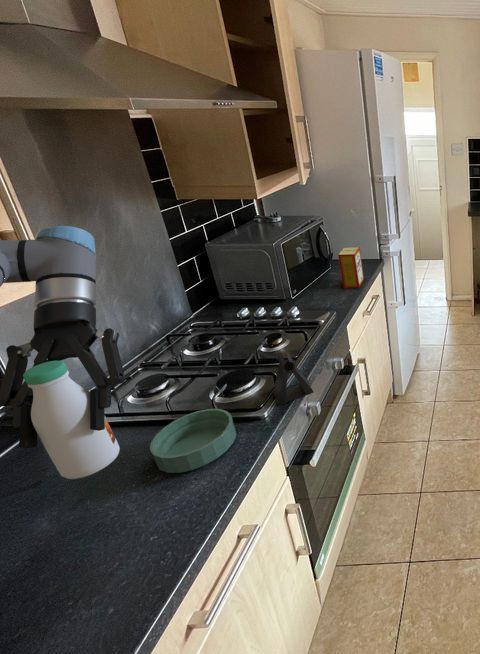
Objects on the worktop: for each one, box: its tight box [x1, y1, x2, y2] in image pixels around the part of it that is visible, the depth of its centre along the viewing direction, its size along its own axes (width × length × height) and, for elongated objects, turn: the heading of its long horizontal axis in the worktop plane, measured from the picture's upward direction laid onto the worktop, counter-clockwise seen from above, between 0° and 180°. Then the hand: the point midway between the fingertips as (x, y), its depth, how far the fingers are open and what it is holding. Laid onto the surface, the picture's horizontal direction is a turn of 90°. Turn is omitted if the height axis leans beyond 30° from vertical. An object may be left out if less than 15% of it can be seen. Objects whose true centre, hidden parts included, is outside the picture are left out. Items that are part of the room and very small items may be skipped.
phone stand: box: [273, 351, 314, 406], centre depth 113 cm, size 9×6×12 cm, turn 127°
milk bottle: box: [23, 360, 121, 480], centre depth 69 cm, size 8×8×20 cm
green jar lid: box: [149, 408, 237, 474], centre depth 96 cm, size 15×15×5 cm
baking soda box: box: [337, 246, 365, 290], centre depth 182 cm, size 10×6×16 cm
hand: (63, 437), depth 67 cm, fingers closed on milk bottle, 8 cm apart
